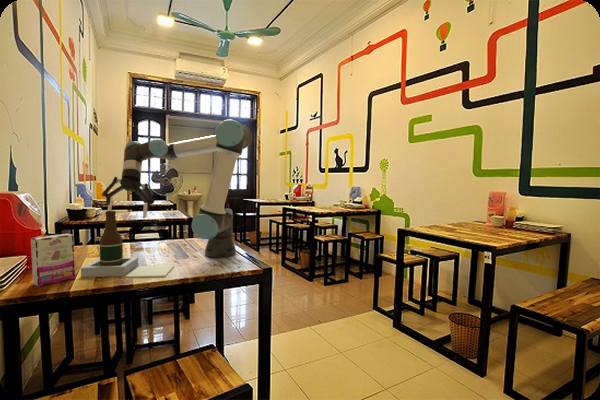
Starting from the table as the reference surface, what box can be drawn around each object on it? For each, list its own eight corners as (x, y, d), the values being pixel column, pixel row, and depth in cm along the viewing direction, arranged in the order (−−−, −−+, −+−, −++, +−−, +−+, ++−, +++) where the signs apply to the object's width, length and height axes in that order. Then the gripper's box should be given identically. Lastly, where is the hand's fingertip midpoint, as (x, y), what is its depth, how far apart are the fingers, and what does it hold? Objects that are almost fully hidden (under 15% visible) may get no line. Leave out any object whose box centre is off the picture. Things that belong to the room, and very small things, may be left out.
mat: (174, 266, 132) (174, 265, 132) (165, 276, 119) (165, 275, 118) (139, 267, 130) (139, 266, 130) (125, 277, 116) (125, 276, 116)
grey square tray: (138, 265, 133) (138, 257, 133) (124, 275, 119) (124, 266, 118) (100, 266, 131) (100, 257, 131) (81, 277, 116) (80, 267, 116)
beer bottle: (99, 274, 120) (97, 212, 118) (101, 269, 126) (100, 210, 125) (122, 272, 123) (121, 211, 122) (123, 267, 130) (122, 210, 129)
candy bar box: (69, 276, 117) (68, 233, 116) (75, 278, 114) (74, 234, 113) (31, 284, 107) (30, 237, 106) (37, 287, 105) (35, 239, 104)
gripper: (157, 182, 151) (155, 222, 142) (97, 169, 135) (90, 213, 126) (163, 175, 147) (161, 215, 137) (102, 160, 131) (95, 205, 121)
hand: (127, 214), depth 132 cm, fingers open, 13 cm apart
